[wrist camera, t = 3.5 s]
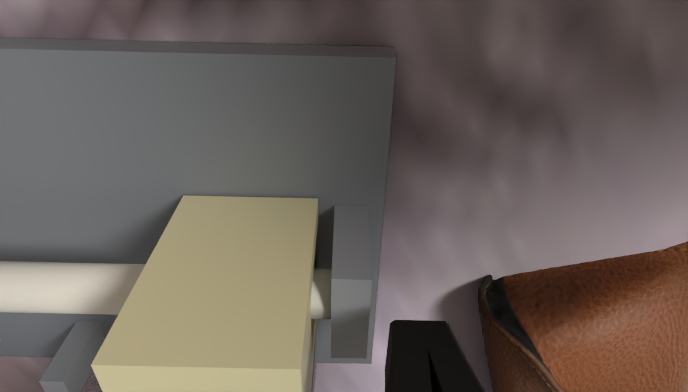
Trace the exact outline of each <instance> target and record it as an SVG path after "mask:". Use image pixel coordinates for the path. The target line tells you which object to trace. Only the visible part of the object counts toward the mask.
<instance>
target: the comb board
mask: <svg viewBox="0 0 688 392" xmlns="http://www.w3.org/2000/svg"><path fill="white" fill-rule="evenodd" d="M395 70H396V54H395V51H394V47H384V46H341V45H298V44H255V43H212V42H169V41H126V40H83V39H40V38H0V356H27V357H54V358H53V359H52V361H51V363H50V364H49V366H48V367H47V369H46V371H45V372H44V374H43V375H42V377H41V378H40V380H39V383H40V385H41V386H42V388H43V390H44V392H81V391H82V389H83V388H84V386H85V384H86V382H87V380H88V378H89V376H90V374H91V373H92V371H93V369H92V367H91V364H92V362H93V360H94V358H95V357H96V355H97V353H98V351H99V349H100V347H101V346H102V344H103V342H104V340H105V338H106V336H107V335H108V333H109V331H110V329H111V327H112V325H113V324H114V322H115V320H116V318H117V316H118V314H119V313H120V311H121V309H122V307H123V305H124V303H125V302H126V300H127V298H128V296H129V294H130V292H131V291H132V289H133V287H134V285H135V283H136V281H137V280H138V278H139V276H140V274H141V272H142V270H143V269H144V267H145V265H146V263H147V261H148V259H149V258H150V256H151V254H152V252H153V250H154V248H155V247H156V245H157V243H158V241H159V239H160V237H161V236H162V234H163V232H164V230H165V228H166V226H167V225H168V223H169V221H170V219H171V217H172V215H173V214H174V212H175V210H176V208H177V206H178V204H179V203H180V201H181V199H182V197H183V195H186V196H232V197H277V198H318V228H317V239H316V249H315V260H314V271H313V281H312V292H311V319H317V320H316V334H315V347H314V360H313V373H312V386H311V392H314V389H315V375H316V362H318V363H367V364H371V360H372V348H373V335H374V323H375V311H376V299H377V287H378V275H379V263H380V251H381V239H382V227H383V215H384V203H385V191H386V179H387V167H388V155H389V143H390V130H391V118H392V106H393V94H394V82H395Z"/></svg>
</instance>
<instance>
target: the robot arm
mask: <svg viewBox="0 0 688 392" xmlns="http://www.w3.org/2000/svg"><path fill="white" fill-rule="evenodd" d="M385 392H485V390H484V389H483V387H482V385H481V384H480V382H479V380H478V379H477V377H476V375H475V373H474V372H473V370H472V368H471V366H470V365H469V363H468V361H467V359H466V358H465V356H464V354H463V352H462V350H461V348H460V346H459V344H458V342H457V340H456V338H455V336H454V334H453V332H452V330H451V328H450V326H449V324H448V323H447V322H446V321H419V320H395V321H393V322H391V323H390V330H389V339H388V348H387V357H386V365H385Z"/></svg>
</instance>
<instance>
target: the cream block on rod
mask: <svg viewBox="0 0 688 392" xmlns="http://www.w3.org/2000/svg"><path fill="white" fill-rule="evenodd" d="M317 228H318V198H277V197H232V196H186V195H183V197H182V199H181V201H180V203H179V204H178V206H177V208H176V210H175V212H174V214H173V215H172V217H171V219H170V221H169V223H168V225H167V226H166V228H165V230H164V232H163V234H162V236H161V237H160V239H159V241H158V243H157V245H156V247H155V248H154V250H153V252H152V254H151V256H150V258H149V259H148V261H147V263H146V265H145V267H144V269H143V270H142V272H141V274H140V276H139V278H138V280H137V281H136V283H135V285H134V287H133V289H132V291H131V292H130V294H129V296H128V298H127V300H126V302H125V303H124V305H123V307H122V309H121V311H120V313H119V314H118V316H117V318H116V320H115V322H114V324H113V325H112V327H111V329H110V331H109V333H108V335H107V336H106V338H105V340H104V342H103V344H102V346H101V347H100V349H99V351H98V353H97V355H96V357H95V358H94V360H93V362H92V364H91V367H92V369H93V371H94V373H95V376H96V378H97V380H98V382H99V385H100V387H101V389H102V392H311V386H312V373H313V360H314V347H315V334H316V320H317V319H311V292H312V281H313V271H314V260H315V249H316V239H317Z"/></svg>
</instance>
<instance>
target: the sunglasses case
mask: <svg viewBox="0 0 688 392" xmlns="http://www.w3.org/2000/svg"><path fill="white" fill-rule="evenodd" d="M478 302H479V311H480V315H481V323H482V332H483V336H484V342H485V350H486V355H487V359H488V365H489V370H490V376H491V381H492V387H493V392H688V242H685V243H682V244H679V245H676V246H672V247H669V248H667V249H664V250H658V251H654V252H645V253H640V254H635V255H628V256H623V257H615V258H608V259H603V260H598V261H593V262H585V263H580V264H573V265H568V266H562V267H554V268H549V269H544V270H537V271H532V272H525V273H519V274H514V275H511V276H505V277H501V278H499V279H497V280H493V279H492V276H491V275H487V276H486V278H485V279H484V280H483V282H482V284H481V286H480V288H479V290H478Z"/></svg>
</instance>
